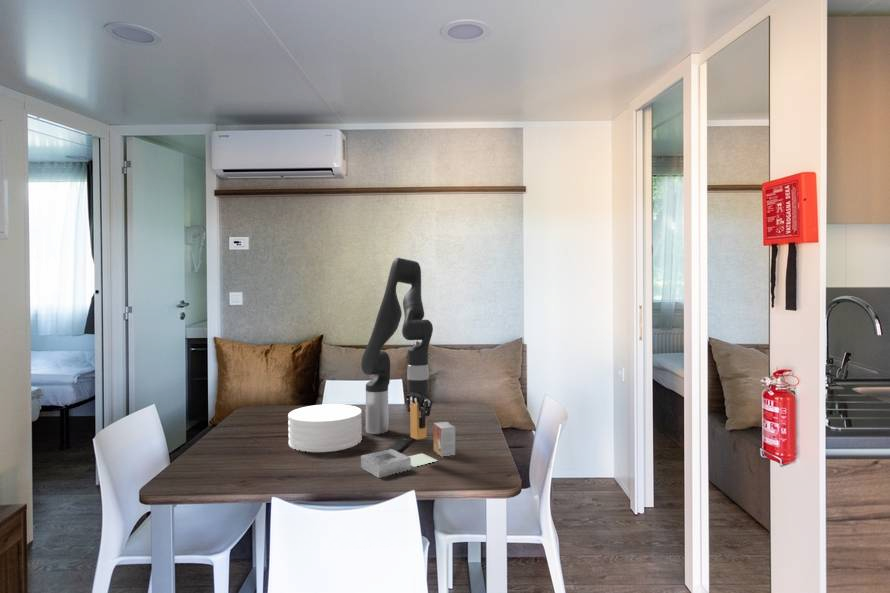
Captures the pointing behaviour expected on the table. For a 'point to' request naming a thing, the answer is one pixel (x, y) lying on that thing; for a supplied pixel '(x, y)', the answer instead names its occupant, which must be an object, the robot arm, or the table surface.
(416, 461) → the mat
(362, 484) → the table surface
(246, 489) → the table surface
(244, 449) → the table surface
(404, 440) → the remote control
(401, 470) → the socket block
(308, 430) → the plate stack
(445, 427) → the small box
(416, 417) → the key peg
